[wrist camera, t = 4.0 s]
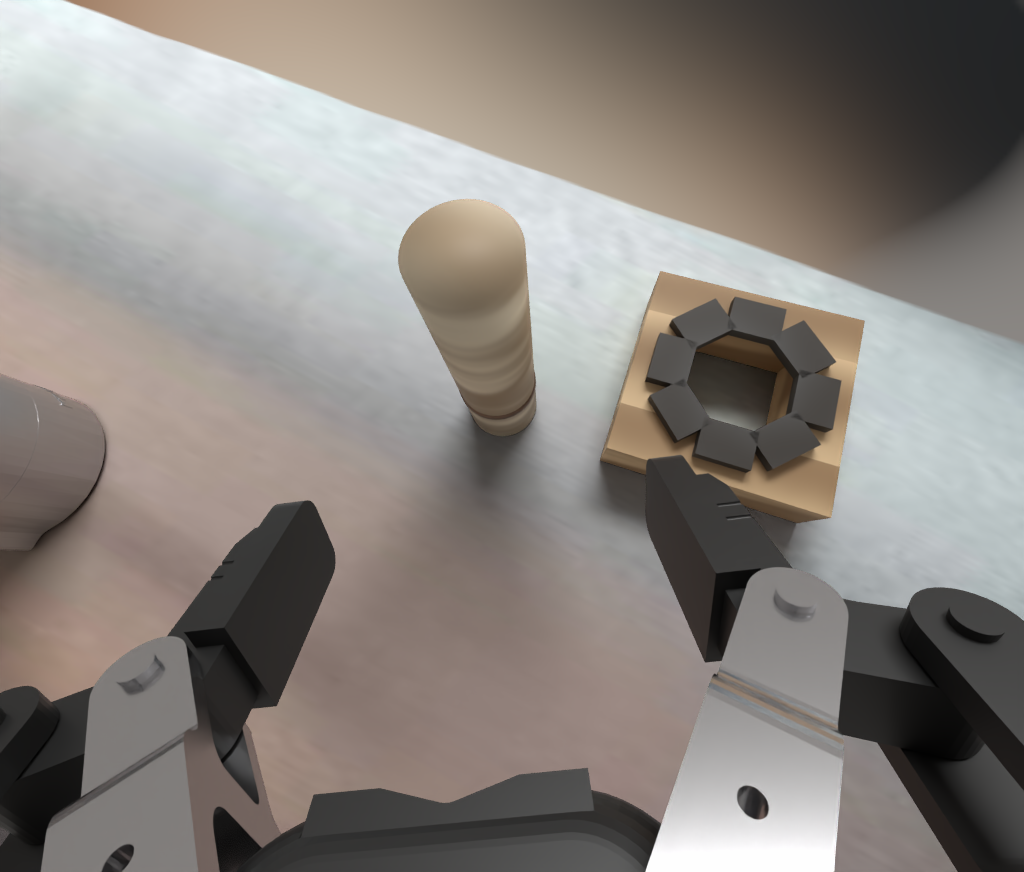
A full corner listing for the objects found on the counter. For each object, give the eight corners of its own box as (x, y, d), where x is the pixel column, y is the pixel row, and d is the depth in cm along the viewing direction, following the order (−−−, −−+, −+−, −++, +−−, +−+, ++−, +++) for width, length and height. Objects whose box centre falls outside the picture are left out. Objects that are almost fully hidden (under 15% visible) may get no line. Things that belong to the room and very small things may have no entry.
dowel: (524, 445, 27) (500, 324, 13) (460, 425, 27) (376, 290, 14) (545, 384, 28) (544, 213, 14) (484, 366, 28) (426, 186, 15)
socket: (797, 523, 24) (838, 516, 21) (600, 460, 26) (608, 444, 23) (830, 346, 27) (872, 314, 23) (648, 300, 29) (663, 264, 25)
